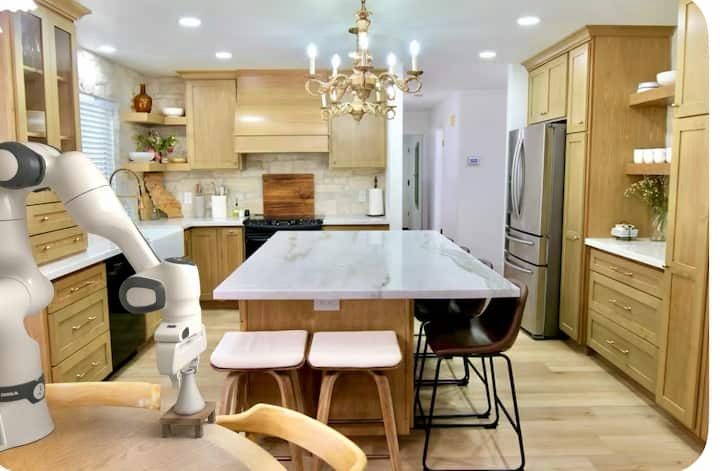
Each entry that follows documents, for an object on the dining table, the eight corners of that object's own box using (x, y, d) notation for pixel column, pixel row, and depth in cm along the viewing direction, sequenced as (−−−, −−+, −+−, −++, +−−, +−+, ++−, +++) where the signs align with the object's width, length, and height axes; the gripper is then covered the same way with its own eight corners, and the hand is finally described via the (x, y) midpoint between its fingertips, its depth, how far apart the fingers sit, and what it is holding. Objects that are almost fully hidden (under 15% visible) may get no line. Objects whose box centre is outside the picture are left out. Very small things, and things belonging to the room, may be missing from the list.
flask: (167, 413, 133) (165, 373, 132) (188, 401, 139) (186, 363, 138) (191, 417, 130) (188, 376, 129) (211, 406, 136) (209, 366, 135)
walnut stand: (161, 438, 131) (159, 417, 130) (179, 419, 140) (178, 400, 140) (201, 439, 129) (200, 418, 129) (217, 420, 139) (216, 401, 139)
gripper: (188, 313, 143) (190, 365, 144) (149, 336, 123) (153, 396, 124) (211, 314, 142) (214, 366, 144) (176, 336, 122) (180, 396, 123)
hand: (185, 380), depth 134 cm, fingers open, 8 cm apart
